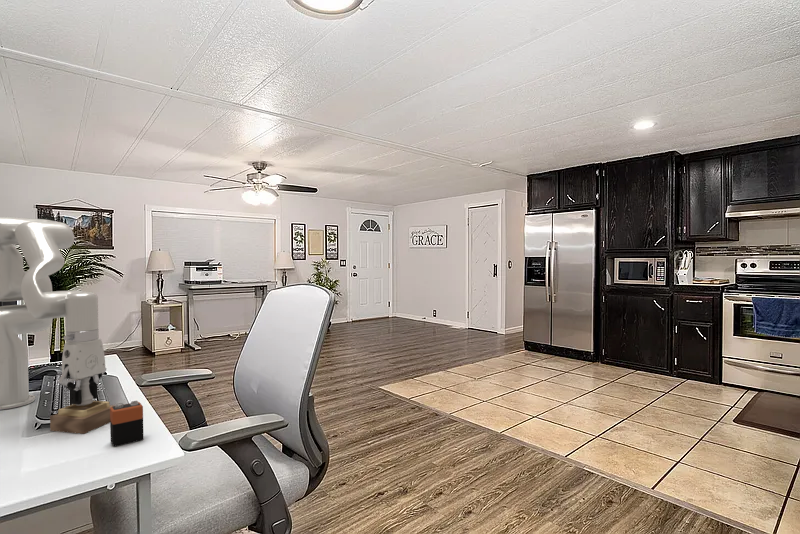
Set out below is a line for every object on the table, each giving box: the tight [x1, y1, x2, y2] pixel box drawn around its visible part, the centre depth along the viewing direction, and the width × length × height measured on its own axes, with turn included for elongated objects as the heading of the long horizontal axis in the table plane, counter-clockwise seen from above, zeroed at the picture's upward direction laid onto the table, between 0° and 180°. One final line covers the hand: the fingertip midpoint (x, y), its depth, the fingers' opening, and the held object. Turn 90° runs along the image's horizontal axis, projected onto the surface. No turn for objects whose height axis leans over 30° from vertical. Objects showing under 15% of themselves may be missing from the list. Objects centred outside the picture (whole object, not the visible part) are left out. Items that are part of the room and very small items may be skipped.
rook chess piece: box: [75, 377, 95, 406], centre depth 128 cm, size 4×4×8 cm
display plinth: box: [49, 400, 114, 435], centre depth 128 cm, size 11×11×6 cm
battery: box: [109, 400, 144, 447], centre depth 117 cm, size 4×7×10 cm, turn 130°
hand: (84, 400), depth 128 cm, fingers closed on rook chess piece, 4 cm apart
